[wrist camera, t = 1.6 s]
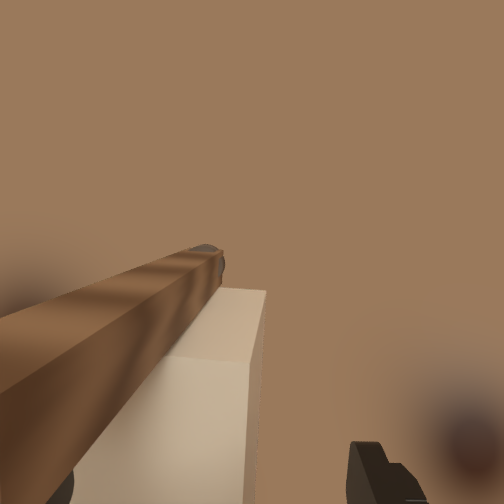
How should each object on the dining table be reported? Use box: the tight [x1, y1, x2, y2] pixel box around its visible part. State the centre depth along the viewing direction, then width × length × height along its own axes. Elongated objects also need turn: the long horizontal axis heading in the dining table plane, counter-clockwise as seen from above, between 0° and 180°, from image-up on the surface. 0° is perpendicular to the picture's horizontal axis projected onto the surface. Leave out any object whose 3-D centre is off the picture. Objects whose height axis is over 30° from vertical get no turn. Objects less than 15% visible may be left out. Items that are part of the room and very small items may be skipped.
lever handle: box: [0, 244, 225, 504], centre depth 19 cm, size 26×3×3 cm, turn 176°
